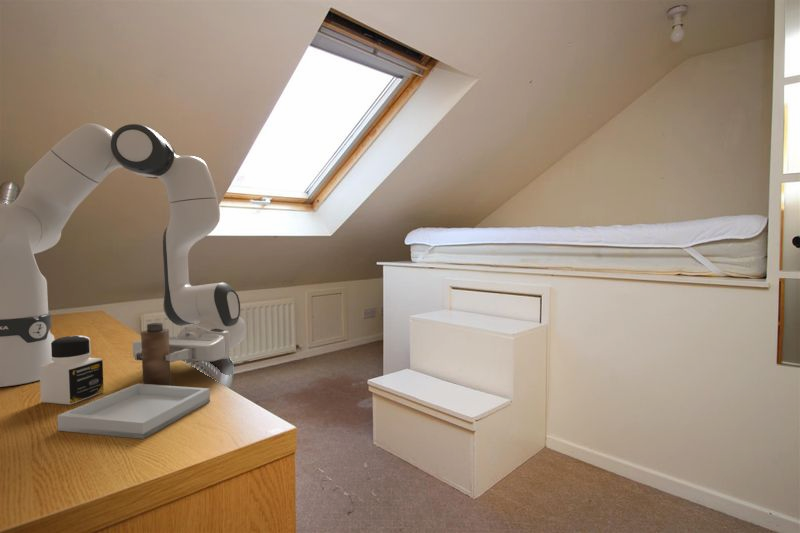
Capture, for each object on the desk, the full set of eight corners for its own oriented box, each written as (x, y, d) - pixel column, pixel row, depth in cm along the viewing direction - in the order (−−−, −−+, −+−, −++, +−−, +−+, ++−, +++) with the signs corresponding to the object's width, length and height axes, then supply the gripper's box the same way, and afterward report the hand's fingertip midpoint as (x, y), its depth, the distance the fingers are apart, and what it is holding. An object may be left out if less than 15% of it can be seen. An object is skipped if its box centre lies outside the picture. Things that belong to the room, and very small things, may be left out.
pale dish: (58, 430, 68) (57, 415, 68) (138, 395, 83) (137, 383, 83) (143, 438, 65) (142, 422, 64) (209, 401, 80) (209, 388, 80)
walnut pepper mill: (137, 391, 86) (134, 325, 86) (155, 383, 91) (153, 321, 90) (158, 392, 85) (156, 326, 85) (176, 384, 90) (173, 322, 89)
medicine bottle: (70, 405, 79) (68, 342, 78) (40, 402, 80) (37, 340, 79) (104, 392, 86) (102, 334, 85) (75, 390, 87) (73, 332, 86)
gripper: (159, 328, 102) (109, 340, 89) (234, 331, 99) (195, 344, 85) (160, 353, 103) (110, 369, 89) (235, 357, 99) (196, 375, 85)
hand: (152, 357), depth 87 cm, fingers open, 6 cm apart
